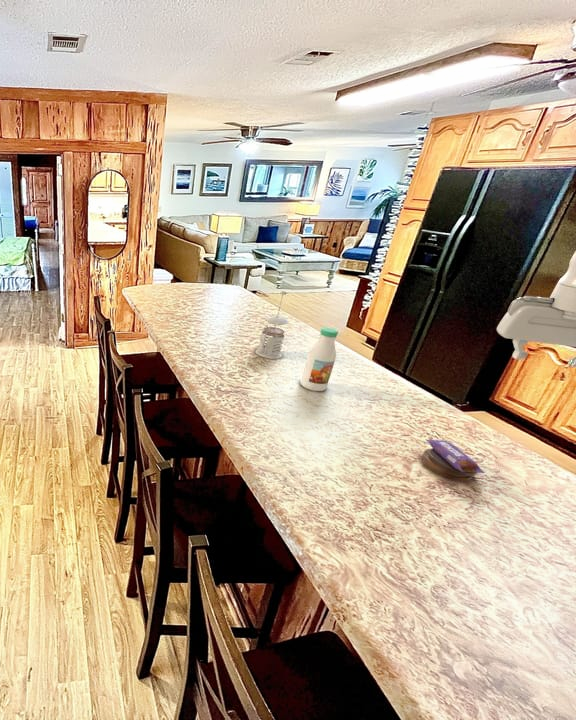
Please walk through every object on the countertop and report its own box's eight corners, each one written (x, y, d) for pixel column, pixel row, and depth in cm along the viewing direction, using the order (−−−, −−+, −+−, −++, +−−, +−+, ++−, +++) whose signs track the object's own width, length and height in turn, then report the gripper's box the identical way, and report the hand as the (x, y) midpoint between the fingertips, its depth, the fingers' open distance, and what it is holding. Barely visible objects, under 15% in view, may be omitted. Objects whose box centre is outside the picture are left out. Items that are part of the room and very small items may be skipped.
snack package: (426, 436, 96) (447, 437, 96) (423, 442, 97) (444, 443, 96) (463, 468, 85) (487, 469, 85) (460, 475, 86) (483, 476, 86)
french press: (287, 355, 149) (304, 292, 138) (269, 362, 143) (285, 297, 132) (265, 346, 157) (279, 286, 146) (247, 352, 151) (260, 290, 140)
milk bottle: (296, 385, 128) (312, 329, 119) (304, 377, 133) (320, 323, 124) (322, 394, 123) (340, 336, 114) (328, 385, 128) (347, 329, 119)
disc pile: (462, 461, 95) (467, 451, 94) (480, 487, 87) (486, 477, 86) (415, 451, 98) (420, 441, 97) (429, 475, 90) (434, 465, 89)
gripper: (524, 298, 79) (492, 359, 85) (665, 312, 72) (619, 377, 78) (508, 290, 84) (479, 348, 90) (638, 303, 77) (597, 364, 83)
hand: (545, 362), depth 84 cm, fingers open, 8 cm apart
